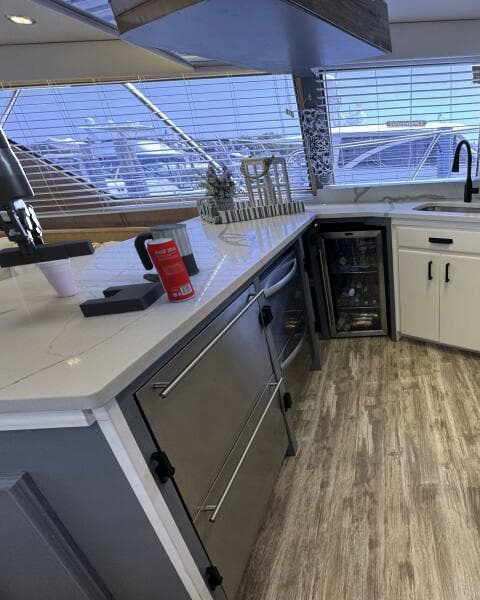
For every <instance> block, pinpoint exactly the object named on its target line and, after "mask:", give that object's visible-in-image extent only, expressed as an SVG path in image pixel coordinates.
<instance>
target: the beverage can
mask: <svg viewBox="0 0 480 600" xmlns="http://www.w3.org/2000/svg"><path fill="white" fill-rule="evenodd" d="M146 249H147V251H148V253H149V256H150V258H151V261H152V263H153V266H154V270H155V271H156V274H158V276H159V278H160V281H161V283H162V285H163V287H164V290H165V295H166V297H167V299H168V301H169V302H171V303H180V302H181V303H182V302H184V301H188V300H190V299H192V298H193V297H195V294H196V292H195V288H194V286H193V283H192V281H191V279H190V276H188V273H187V271H186V268H185V266H184V263H183V260H182V258H181V255H180V253H179V250H178V247H177V245H176V243H175V242H174V241H173V239H172V238H159V239H154V240H152V239H150V240H147V242H146Z"/></svg>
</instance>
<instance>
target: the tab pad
mask: <svg viewBox="0 0 480 600" xmlns="http://www.w3.org/2000/svg"><path fill="white" fill-rule="evenodd" d="M35 246H36V248H37V250H38V252H39V254H40V256H41V258H40V259H39V260H34V261H26V260H25V259H24V257H23V255H22V253H21V251H20V249H19V247H18V246H12V247H3V248H2V249H0V268H1V269H7V268H13V267H20V266H27V265H35V263H42V262H49V261H56V260H63V259H72V258H77V257H85V256H92V255H94V254H95V252H96V250H95V248H94V245H93V243H92V241H91V238H84V239H75V240H64V241H55V242H54V241H53V242H44V244H37V245H35Z"/></svg>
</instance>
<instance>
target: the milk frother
mask: <svg viewBox="0 0 480 600" xmlns="http://www.w3.org/2000/svg"><path fill="white" fill-rule="evenodd" d="M148 230H150V231H147V232H142V233H139V234H138V235H137V236H136V237H135V239H134V240H133V246H134V249H135V250H136V253H137V255H138V257H139V259H140V262H141V264H142V266H143V268H144V270H145V271H152V270H153V269H155V267H154V264H153V262H152V260H151V257H150V255H149V253H148V250H147V245H146V241H150V240H154V239H159V238H172V239H173V241H174V242H175V243H176V245H177V247H178V250H179V253H180V255H181V258H182V260H183V263H184V266H185V268H186V271H187V273H188V276H189V277H190V276H192V275H196V274H198V273H199V272H200V269H199V267H198V265H197V261H196V258H195V256H194V251H193V248H192V245H191V242H190V238H189V234H188V231H187V224H186V223H168V224H159V225H152V226H150V227H148ZM142 278H143V279H144V280H146V281H148V282H150V283H151V282H161V281H160V278H159V276H158V274H157V273H145V274H143V276H142Z"/></svg>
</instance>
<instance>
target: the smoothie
mask: <svg viewBox="0 0 480 600" xmlns="http://www.w3.org/2000/svg"><path fill="white" fill-rule="evenodd" d="M70 262H71V258H69V259H63V260H56V261H49V262H42V263H35V264H34V265H35V267H36V268H38V269H39V271H40V272H41V273H42V275H43V276H44V278H45V279H46V280H47V282H48V283H49V285H50V286H51V287H52V289H53V290H54V292H55V293H56V295H58V297H59V298H67V297H72V296H75V295H77V294H78V293H79V291H78V288H77V284H76V281H75V278H74V274H73V270H72V267H71V263H70Z"/></svg>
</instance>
